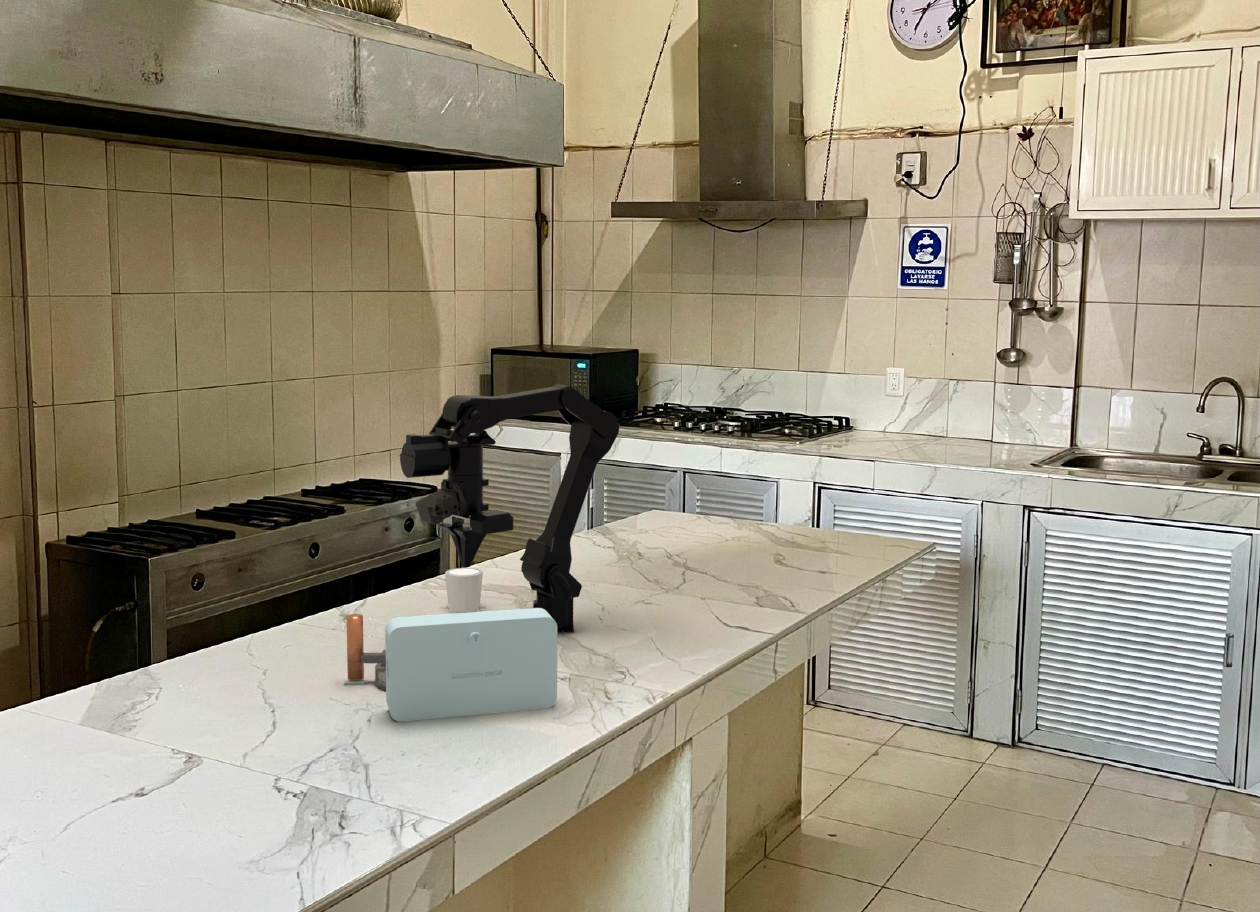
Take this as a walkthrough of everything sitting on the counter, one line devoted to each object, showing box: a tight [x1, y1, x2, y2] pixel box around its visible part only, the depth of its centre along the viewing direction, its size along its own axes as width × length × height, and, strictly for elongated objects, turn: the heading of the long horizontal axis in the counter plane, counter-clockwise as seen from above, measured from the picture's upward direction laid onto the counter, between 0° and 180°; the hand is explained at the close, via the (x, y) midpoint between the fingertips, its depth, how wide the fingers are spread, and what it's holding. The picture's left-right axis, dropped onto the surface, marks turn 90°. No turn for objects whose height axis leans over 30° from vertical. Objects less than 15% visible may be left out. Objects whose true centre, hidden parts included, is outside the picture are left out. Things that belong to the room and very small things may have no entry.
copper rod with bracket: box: [345, 613, 386, 681], centre depth 180 cm, size 7×2×10 cm, turn 90°
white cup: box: [444, 567, 484, 613], centre depth 222 cm, size 7×7×7 cm
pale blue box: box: [384, 607, 558, 722], centre depth 169 cm, size 23×6×13 cm, turn 107°
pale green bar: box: [343, 679, 366, 686], centre depth 180 cm, size 3×1×1 cm, turn 98°
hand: (465, 566), depth 199 cm, fingers closed
